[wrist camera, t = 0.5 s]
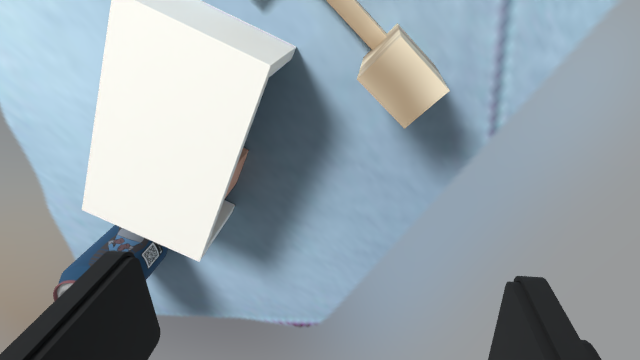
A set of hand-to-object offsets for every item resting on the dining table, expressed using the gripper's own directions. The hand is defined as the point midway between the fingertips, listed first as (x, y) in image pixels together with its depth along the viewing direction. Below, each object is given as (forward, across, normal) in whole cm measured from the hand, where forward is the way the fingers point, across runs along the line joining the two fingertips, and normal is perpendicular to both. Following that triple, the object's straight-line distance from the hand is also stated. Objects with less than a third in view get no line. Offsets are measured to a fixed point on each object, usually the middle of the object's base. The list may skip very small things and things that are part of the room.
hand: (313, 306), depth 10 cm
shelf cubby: (+29, +16, +4) cm, 34 cm away
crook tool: (+29, +2, -5) cm, 30 cm away
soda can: (+30, +27, +20) cm, 45 cm away
